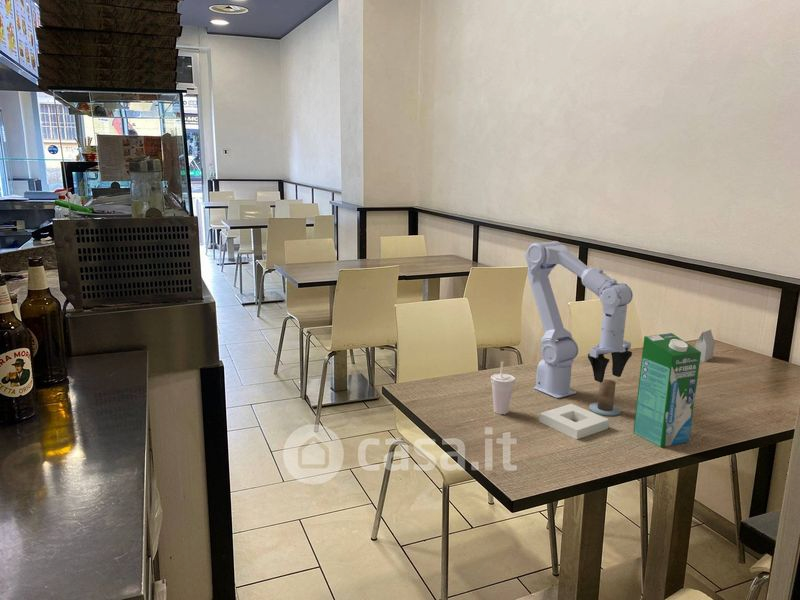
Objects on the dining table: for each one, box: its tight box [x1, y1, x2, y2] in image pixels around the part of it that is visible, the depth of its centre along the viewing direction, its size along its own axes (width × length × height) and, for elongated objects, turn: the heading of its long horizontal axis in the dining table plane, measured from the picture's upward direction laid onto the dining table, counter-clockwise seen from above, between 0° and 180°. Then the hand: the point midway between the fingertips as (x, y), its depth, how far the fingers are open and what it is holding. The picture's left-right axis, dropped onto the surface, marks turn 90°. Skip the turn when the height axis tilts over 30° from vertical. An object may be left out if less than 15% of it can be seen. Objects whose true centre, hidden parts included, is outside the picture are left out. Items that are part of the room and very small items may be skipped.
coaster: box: [588, 401, 621, 417], centre depth 163 cm, size 8×8×1 cm
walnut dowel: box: [597, 378, 616, 411], centre depth 162 cm, size 4×4×8 cm
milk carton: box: [632, 332, 701, 448], centre depth 145 cm, size 9×9×25 cm
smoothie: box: [490, 361, 516, 415], centre depth 159 cm, size 6×6×14 cm
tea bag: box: [694, 329, 716, 363], centre depth 208 cm, size 4×7×10 cm, turn 131°
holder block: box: [539, 403, 610, 440], centre depth 153 cm, size 12×12×2 cm
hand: (607, 378), depth 161 cm, fingers open, 7 cm apart
